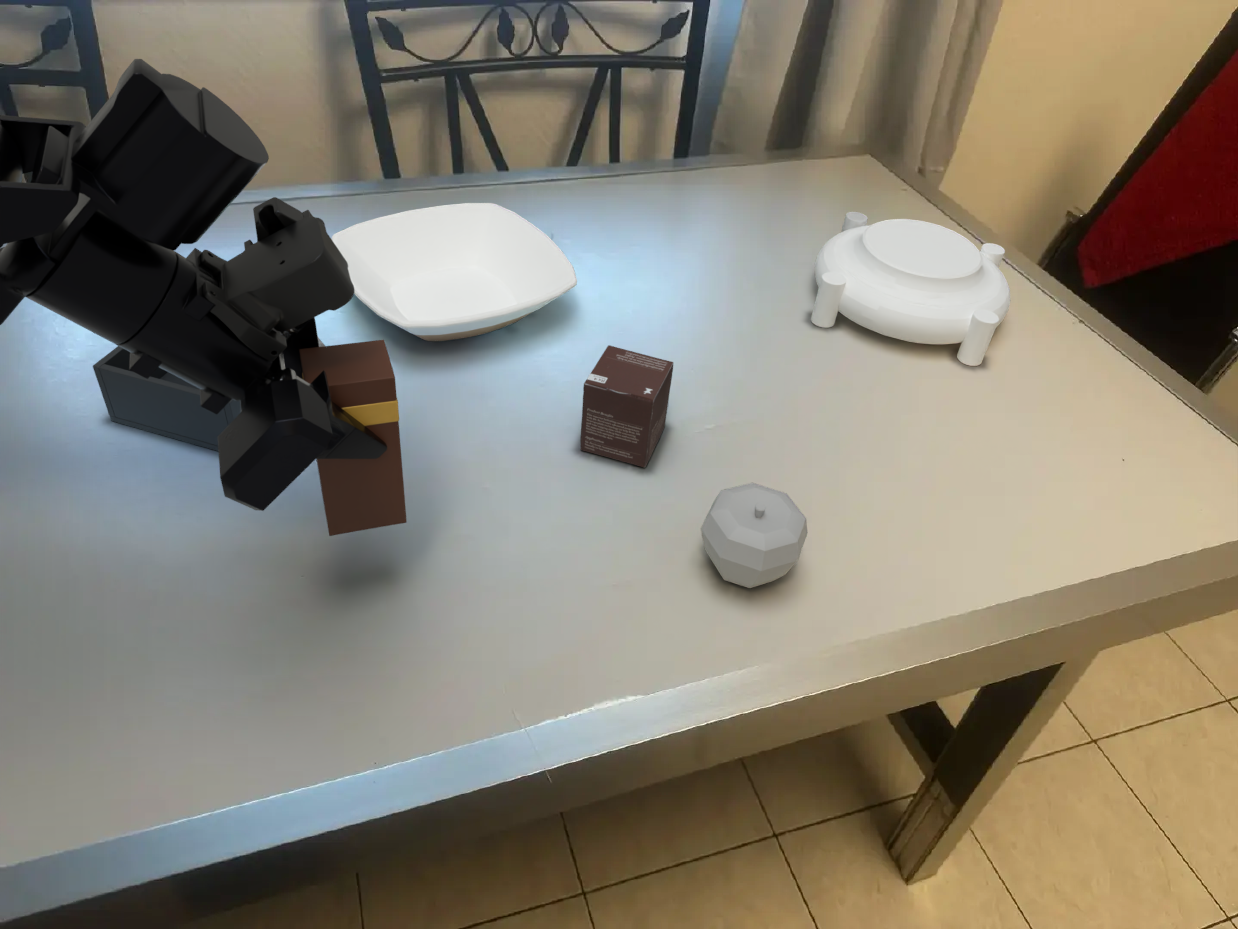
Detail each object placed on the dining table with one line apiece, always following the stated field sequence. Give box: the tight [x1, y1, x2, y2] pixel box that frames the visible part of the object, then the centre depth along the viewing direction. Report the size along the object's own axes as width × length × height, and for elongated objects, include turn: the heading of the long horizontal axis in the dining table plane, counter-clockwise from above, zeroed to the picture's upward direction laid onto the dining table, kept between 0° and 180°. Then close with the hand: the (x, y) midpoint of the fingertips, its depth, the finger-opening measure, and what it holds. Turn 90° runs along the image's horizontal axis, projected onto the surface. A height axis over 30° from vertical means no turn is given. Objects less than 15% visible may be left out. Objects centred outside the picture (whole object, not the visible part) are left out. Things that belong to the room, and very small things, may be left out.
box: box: [579, 344, 674, 468], centre depth 80 cm, size 6×6×7 cm
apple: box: [700, 482, 808, 589], centre depth 70 cm, size 8×8×7 cm
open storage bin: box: [92, 345, 241, 452], centre depth 80 cm, size 12×12×6 cm
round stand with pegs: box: [810, 211, 1012, 367], centre depth 102 cm, size 24×24×7 cm
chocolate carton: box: [299, 339, 408, 537], centre depth 60 cm, size 5×4×12 cm
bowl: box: [330, 202, 578, 342], centre depth 95 cm, size 22×22×5 cm
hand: (377, 430), depth 60 cm, fingers closed on chocolate carton, 4 cm apart
